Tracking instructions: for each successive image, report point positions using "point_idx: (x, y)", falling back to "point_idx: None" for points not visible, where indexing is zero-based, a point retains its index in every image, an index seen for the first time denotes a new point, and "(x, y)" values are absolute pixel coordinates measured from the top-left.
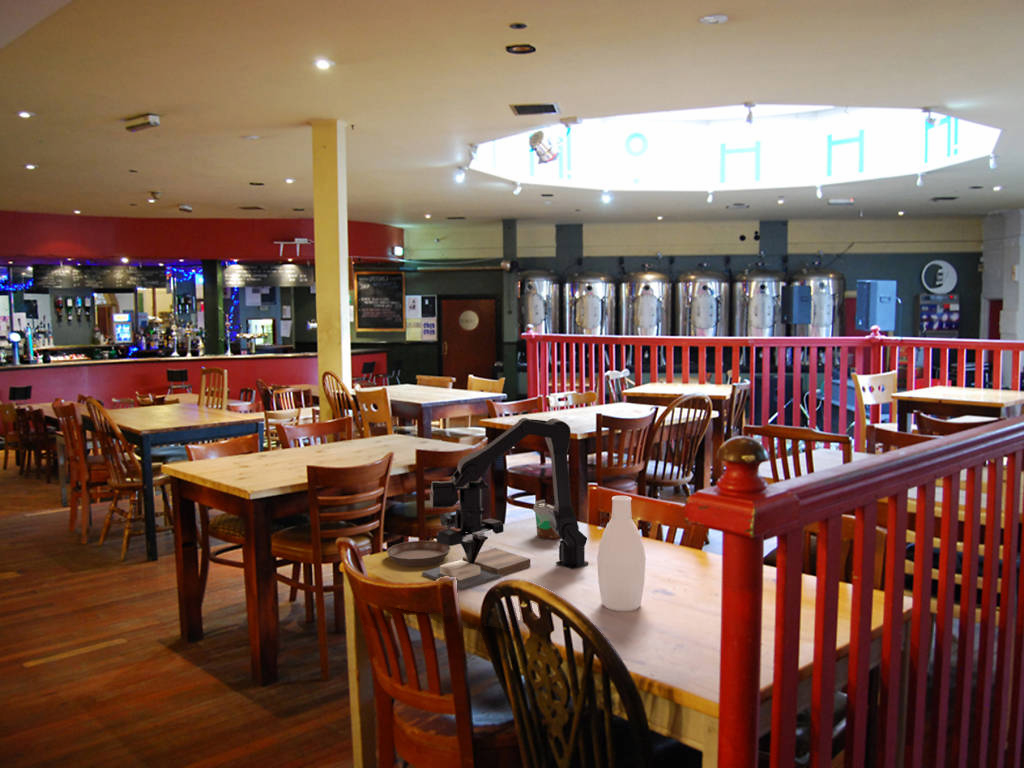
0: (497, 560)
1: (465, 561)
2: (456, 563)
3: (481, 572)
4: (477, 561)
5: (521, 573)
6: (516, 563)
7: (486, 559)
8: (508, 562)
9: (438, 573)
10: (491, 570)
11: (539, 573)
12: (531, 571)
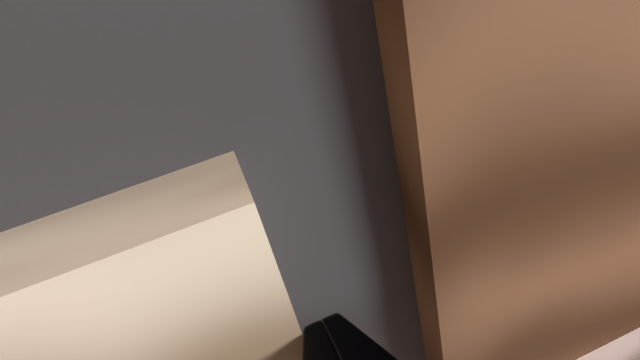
0: (596, 240)
1: (284, 291)
2: (124, 340)
3: None
4: (447, 206)
5: None
6: (623, 333)
7: (557, 174)
8: (607, 308)
9: None
10: (428, 355)
11: (614, 356)
12: None
